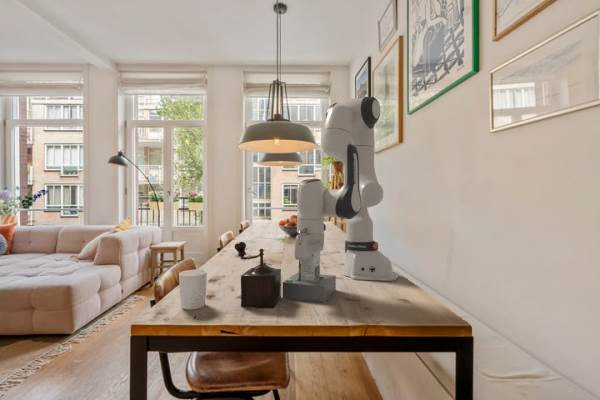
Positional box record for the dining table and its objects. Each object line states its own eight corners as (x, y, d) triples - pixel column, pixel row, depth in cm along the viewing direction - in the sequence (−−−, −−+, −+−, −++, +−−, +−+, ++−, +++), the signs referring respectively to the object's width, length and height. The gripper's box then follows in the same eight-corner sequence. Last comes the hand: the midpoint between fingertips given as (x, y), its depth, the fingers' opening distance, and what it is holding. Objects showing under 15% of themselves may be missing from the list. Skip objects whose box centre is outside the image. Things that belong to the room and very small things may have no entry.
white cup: (199, 299, 98) (199, 268, 98) (212, 305, 93) (211, 272, 92) (174, 305, 93) (174, 272, 93) (186, 312, 87) (186, 277, 87)
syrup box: (304, 290, 108) (303, 248, 108) (320, 292, 106) (320, 249, 105) (298, 295, 102) (297, 251, 102) (315, 297, 100) (315, 252, 100)
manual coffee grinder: (282, 296, 101) (282, 241, 101) (274, 309, 90) (274, 246, 90) (237, 294, 104) (237, 240, 103) (223, 305, 93) (223, 245, 92)
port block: (335, 290, 108) (335, 273, 108) (324, 302, 95) (324, 284, 95) (298, 286, 113) (298, 270, 113) (282, 297, 100) (282, 280, 100)
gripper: (309, 230, 93) (308, 276, 93) (327, 225, 112) (327, 263, 112) (289, 229, 95) (289, 275, 95) (310, 224, 114) (310, 262, 114)
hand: (309, 268), depth 104 cm, fingers closed on syrup box, 6 cm apart
